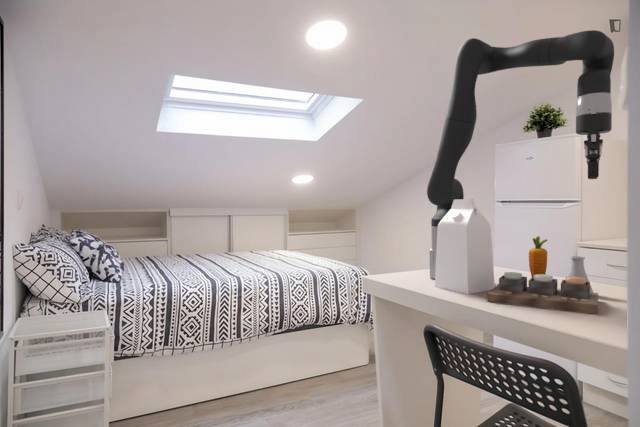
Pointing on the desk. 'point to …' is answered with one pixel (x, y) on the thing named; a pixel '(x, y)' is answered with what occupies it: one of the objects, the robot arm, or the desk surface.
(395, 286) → the desk surface
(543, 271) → the carrot
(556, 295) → the button board
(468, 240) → the milk
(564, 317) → the desk surface
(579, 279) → the terracotta button
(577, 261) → the flask
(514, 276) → the sage button
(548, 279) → the grey button
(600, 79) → the robot arm
